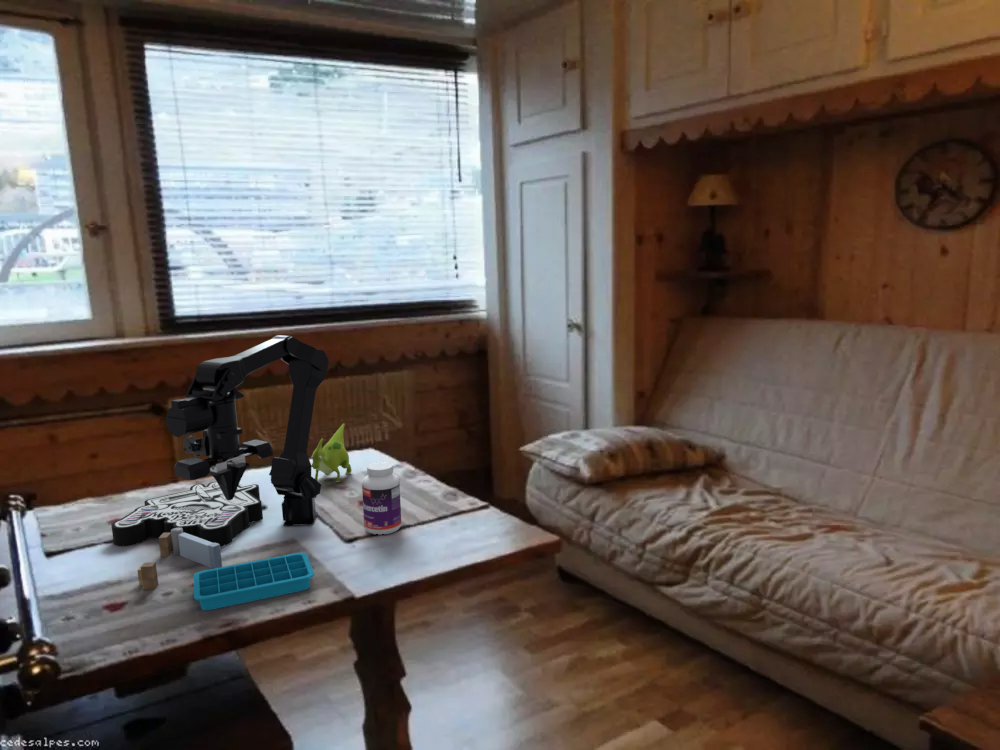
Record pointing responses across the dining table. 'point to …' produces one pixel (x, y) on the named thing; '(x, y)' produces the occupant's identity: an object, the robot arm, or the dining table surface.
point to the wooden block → (148, 576)
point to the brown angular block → (165, 544)
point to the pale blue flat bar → (196, 548)
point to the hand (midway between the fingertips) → (229, 499)
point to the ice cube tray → (252, 580)
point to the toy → (331, 455)
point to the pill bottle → (381, 499)
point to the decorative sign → (192, 515)
